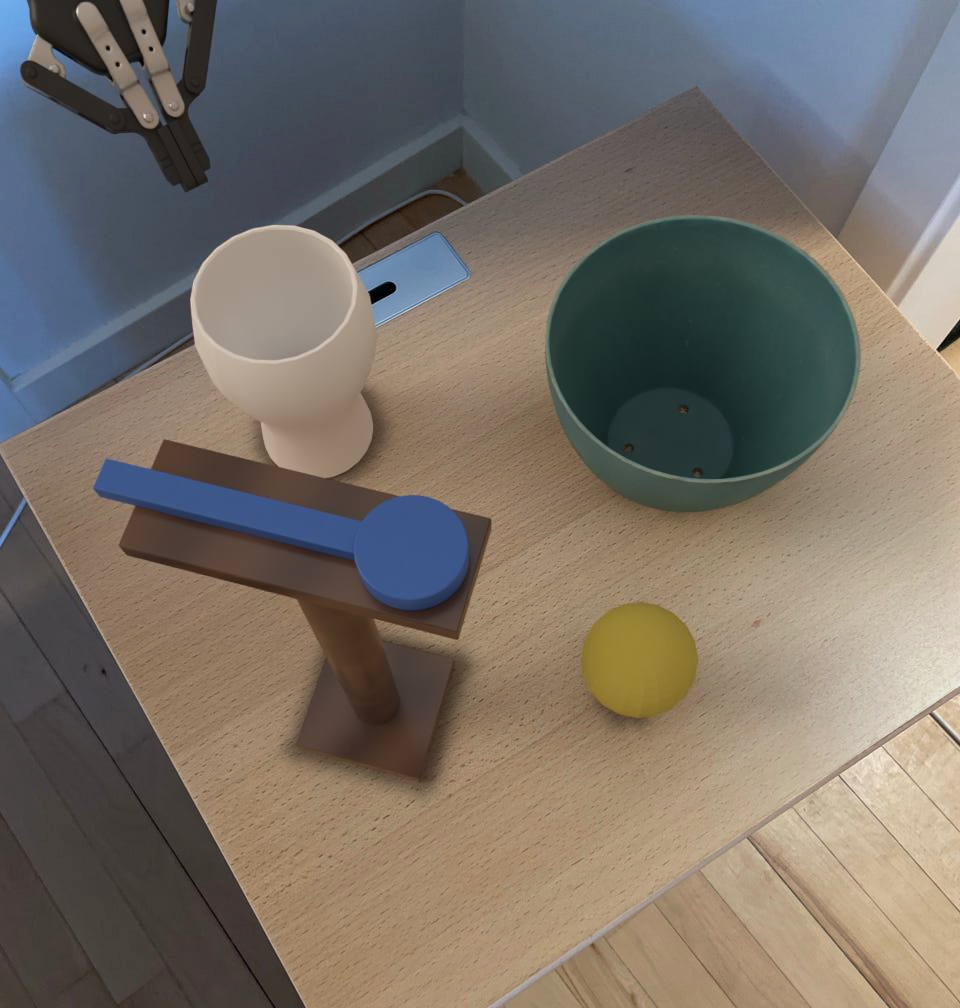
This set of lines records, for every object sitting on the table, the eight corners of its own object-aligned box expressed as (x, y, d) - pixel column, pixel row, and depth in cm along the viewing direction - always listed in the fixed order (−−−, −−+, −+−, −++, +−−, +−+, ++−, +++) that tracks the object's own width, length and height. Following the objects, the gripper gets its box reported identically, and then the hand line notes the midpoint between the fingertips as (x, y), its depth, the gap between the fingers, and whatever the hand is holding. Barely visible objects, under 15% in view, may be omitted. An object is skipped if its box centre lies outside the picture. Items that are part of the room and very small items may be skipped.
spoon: (85, 530, 41) (73, 516, 39) (126, 436, 42) (116, 420, 41) (452, 623, 39) (450, 612, 38) (482, 522, 40) (482, 509, 39)
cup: (423, 447, 71) (404, 311, 57) (292, 526, 69) (239, 406, 55) (343, 341, 74) (306, 187, 60) (215, 414, 72) (146, 273, 58)
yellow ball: (699, 707, 64) (733, 658, 55) (612, 763, 63) (632, 724, 54) (637, 623, 66) (660, 563, 57) (552, 677, 65) (561, 624, 56)
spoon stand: (253, 736, 64) (103, 579, 40) (294, 622, 67) (176, 407, 42) (466, 794, 63) (446, 668, 38) (500, 675, 65) (501, 485, 41)
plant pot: (822, 558, 68) (889, 469, 56) (549, 577, 68) (560, 491, 56) (778, 328, 74) (830, 204, 62) (527, 345, 74) (532, 224, 62)
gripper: (-90, -106, 51) (102, 233, 59) (147, -205, 53) (302, 136, 61) (-72, -67, 58) (99, 234, 66) (138, -156, 60) (279, 146, 68)
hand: (197, 186), depth 63 cm, fingers closed
